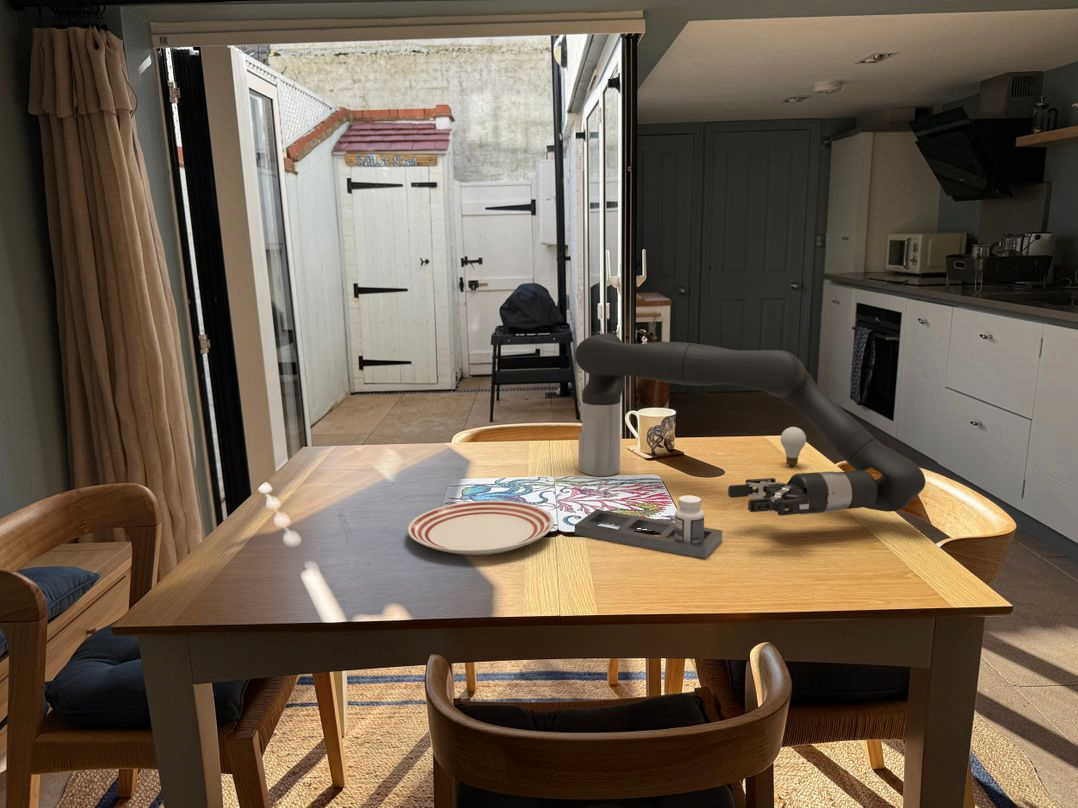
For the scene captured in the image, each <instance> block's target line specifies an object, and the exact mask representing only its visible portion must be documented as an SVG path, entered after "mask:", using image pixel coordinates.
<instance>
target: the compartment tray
mask: <svg viewBox="0 0 1078 808" xmlns="http://www.w3.org/2000/svg"><path fill="white" fill-rule="evenodd" d="M599 522H602V523H601V524H605V523H609V524H608V525H611V524H614V525H613V526H616V525H620V526H618V528H614V527H609V526H603V525H599V524H600V523H599ZM598 523H599V524H598ZM637 528H641V529H647V530H652V531H655V532H654V533H656V532H657V533H656V534H659V535H654V534H653V535H652V534H647V533H642V532H637V530H638V529H637ZM636 529H637V530H636ZM635 530H636V531H635ZM634 531H635V532H634ZM723 532H724V531H723V530H722V529H715V528H710V527H705V526H704V541H703V542H702V543H701V544H699V543H693V542H687V541H682V540H676V539H675V521H673V522H672V521H668V520H662V519H656V518H652V517H651V518H650V517H645V516H639V515H638V516H637V515H634V514H633V515H632V514H626V513H621V512H616V511H608V510H603V509H602V510H601V509H595V510H593V511H592V512H591V513H589V514H588V515H587V516H585V517H583V518H582V519H581V520H579V521H578V522H576V523H575V524H574V536H579V537H583V538H584V537H585V538H590V539H596V540H600V541H607V542H611V543H616V544H617V543H618V544H620V545H621V544H622V545H626V546H627V545H628V546H632V547H636V548H637V547H638V548H643V549H644V548H645V549H648V550H654V551H658V552H659V551H660V552H665V553H669V554H675V555H680V556H681V555H682V556H686V557H691V558H696V559H702V560H707V559H708V558H709V556H710V555H712V554H713V552H714V551H715V550H716V548H717V547H718V546H719V545H720V543H722V542H723Z"/></svg>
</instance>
